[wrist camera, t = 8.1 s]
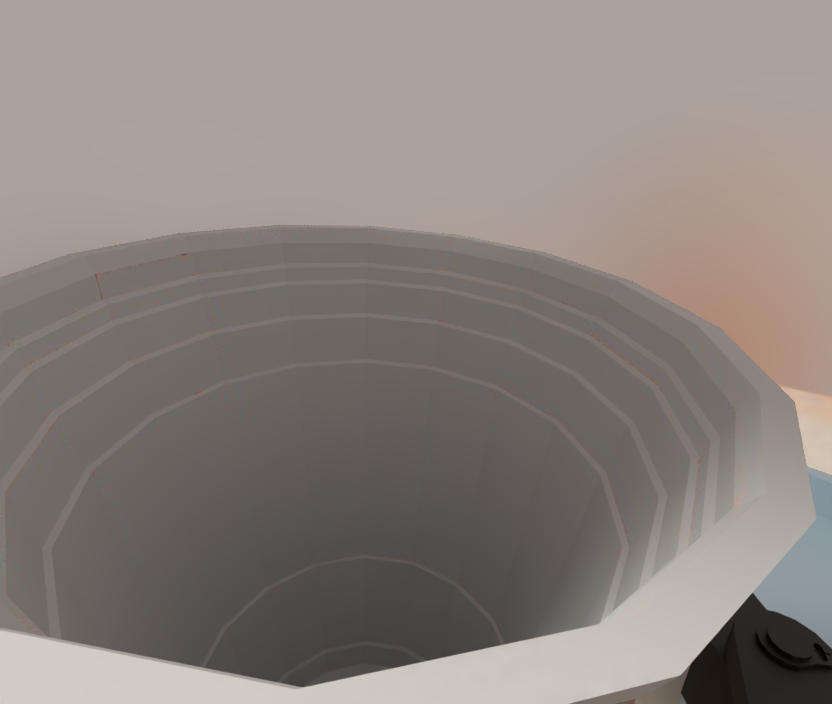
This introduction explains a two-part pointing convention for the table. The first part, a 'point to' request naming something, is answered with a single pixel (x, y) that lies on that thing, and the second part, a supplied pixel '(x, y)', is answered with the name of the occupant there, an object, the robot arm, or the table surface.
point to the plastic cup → (372, 474)
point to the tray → (805, 569)
